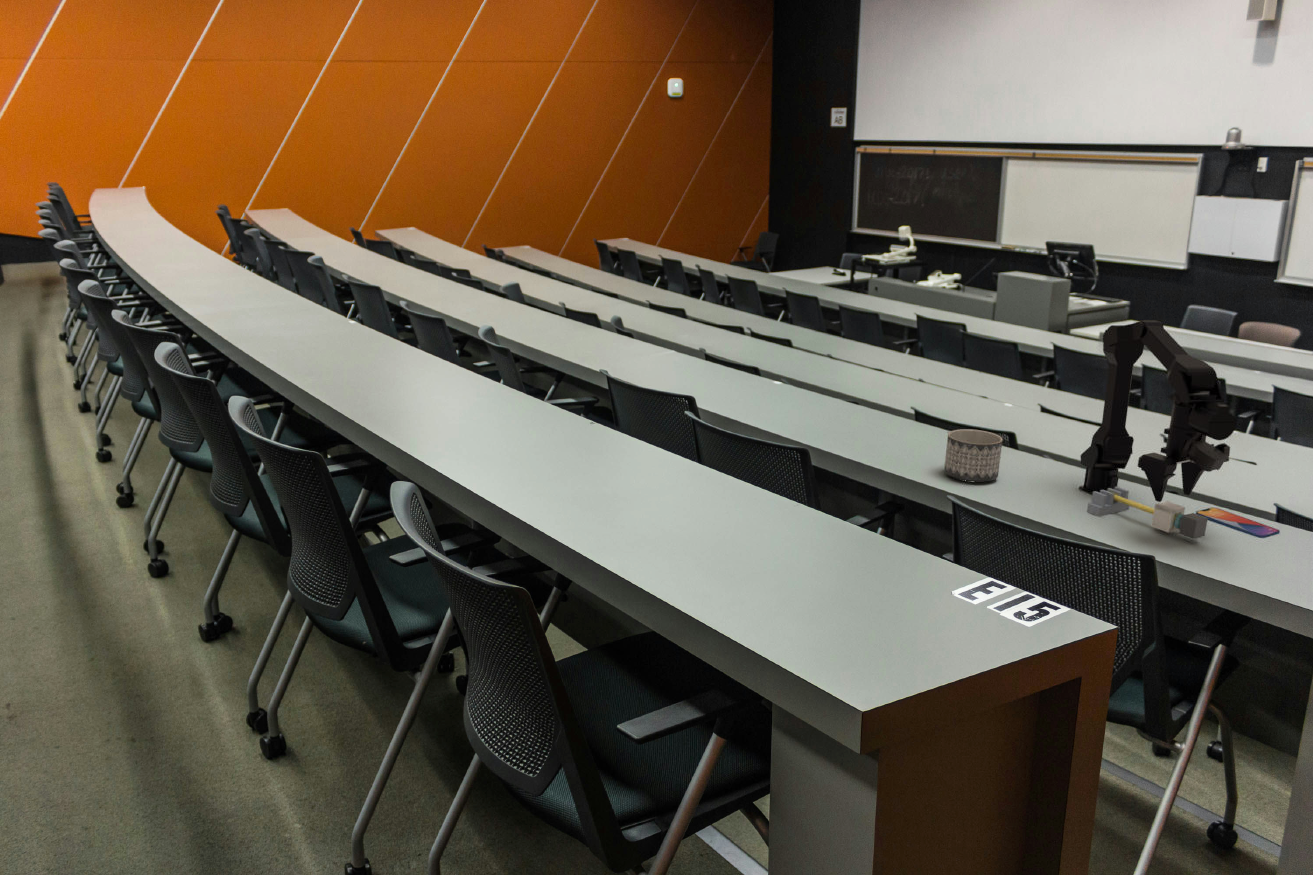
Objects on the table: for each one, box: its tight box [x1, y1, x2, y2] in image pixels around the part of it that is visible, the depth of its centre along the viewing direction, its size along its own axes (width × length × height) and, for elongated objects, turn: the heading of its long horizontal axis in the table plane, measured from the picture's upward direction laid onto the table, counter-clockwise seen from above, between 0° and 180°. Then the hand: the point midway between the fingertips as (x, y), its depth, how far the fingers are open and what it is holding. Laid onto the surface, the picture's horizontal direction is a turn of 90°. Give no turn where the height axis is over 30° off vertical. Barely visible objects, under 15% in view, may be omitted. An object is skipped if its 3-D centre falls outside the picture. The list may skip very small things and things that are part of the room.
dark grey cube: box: [1178, 512, 1209, 540], centre depth 196 cm, size 4×4×4 cm
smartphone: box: [1195, 507, 1280, 539], centre depth 207 cm, size 7×15×1 cm, turn 29°
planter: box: [943, 428, 1004, 483], centre depth 233 cm, size 13×13×10 cm
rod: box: [1113, 494, 1176, 522], centre depth 205 cm, size 20×1×1 cm, turn 28°
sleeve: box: [1151, 500, 1186, 534], centre depth 201 cm, size 4×4×5 cm
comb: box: [1086, 486, 1130, 517], centre depth 213 cm, size 3×10×5 cm, turn 118°
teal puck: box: [1174, 513, 1185, 529], centre depth 198 cm, size 1×3×3 cm, turn 118°
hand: (1172, 497), depth 199 cm, fingers open, 9 cm apart
